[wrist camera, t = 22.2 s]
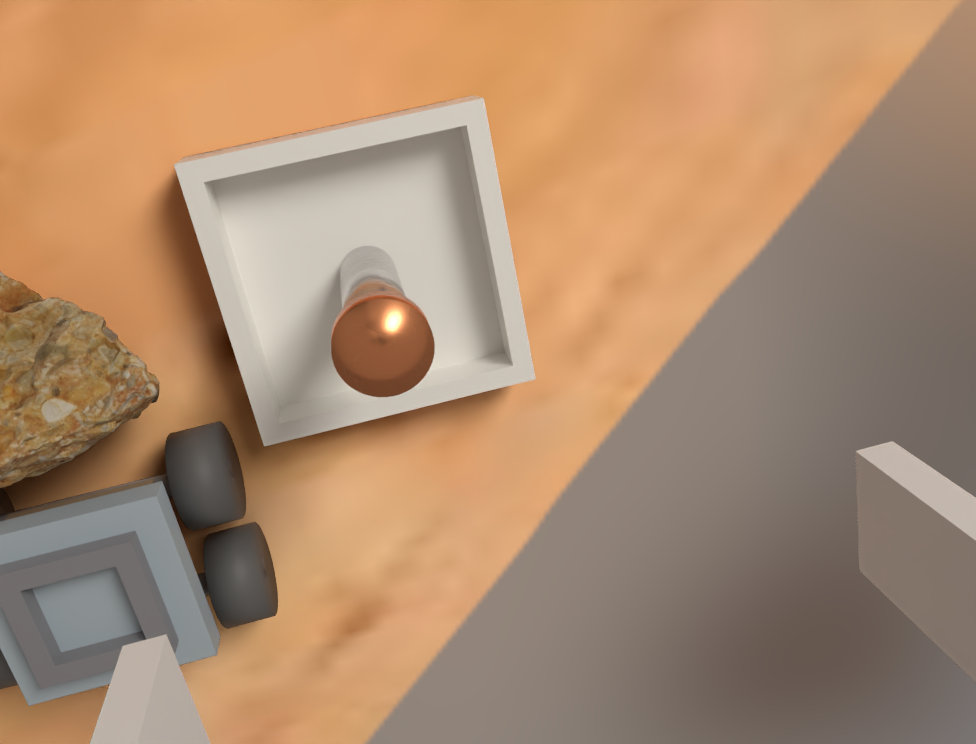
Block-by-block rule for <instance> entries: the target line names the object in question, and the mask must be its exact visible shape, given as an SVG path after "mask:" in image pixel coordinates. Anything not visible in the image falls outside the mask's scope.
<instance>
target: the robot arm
mask: <svg viewBox="0 0 976 744" xmlns="http://www.w3.org/2000/svg"><path fill="white" fill-rule="evenodd" d="M856 478H857V479H856V481H857V511H858V540H859V570H860V571H861V572H862V573H863V574H864V575H865V576H866V577H867V578H868V579H869V580H870V581H871V582H872V583H873V584H874V585H875V586H876V587H877V588H878V589H879V590H881V591H882V592H883V593H884V594H885V595H886V596H887V597H888V598H889V599H890V600H891V601H892V602H893V603H894V604H895V605H896V606H897V607H899V609H900V610H901V611H902V612H903V613H904V614H906V615H907V616H908V617H909V618H910V619H911V620H912V621H913V622H914V623H915V624H916V625H917V626H918V627H919V628H920V629H921V630H922V631H923V632H924V633H925V634H926V635H927V636H928V637H929V638H931V640H933V641H934V642H935V643H936V644H937V645H938V646H939V647H940V648H941V649H942V650H943V651H944V652H945V653H946V654H947V655H948V656H949V657H950V658H951V659H952V660H953V661H954V662H955V663H957V665H959V666H960V667H961V668H962V669H963V670H964V671H965V672H966V673H967V674H968V675H969V676H970V677H971V678H972V679H973V680H974V681H976V498H975V497H974V496H972V495H971V494H969V493H968V492H966V491H965V490H963V489H961V488H960V487H959V486H957V485H956V484H954V483H953V482H952V481H950V480H949V479H947V478H946V477H944V476H943V475H941V474H940V473H938V472H937V471H935V470H934V469H932V468H931V467H929V466H928V465H926V464H925V463H924V462H922V461H921V460H919V459H918V458H916V457H915V456H913V455H912V454H910V453H909V452H907V451H906V450H905V449H903V448H901V447H900V446H899V445H897V444H896V443H894V442H893V441H892V442H888V443H884V444H881V445H877V446H873V447H869V448H865V449H862V450H858V451H856ZM90 744H211V743H210V741H209V739H208V736H207V734H206V731H205V729H204V726H203V724H202V721H201V719H200V716H199V714H198V711H197V709H196V706H195V704H194V701H193V699H192V696H191V694H190V691H189V689H188V686H187V684H186V681H185V679H184V676H183V674H182V672H181V669H180V667H179V664H178V662H177V659H176V657H175V654H174V652H173V649H172V647H171V644H170V642H169V639H168V637H167V634H165V635H162V636H158V637H154V638H150V639H147V640H143V641H139V642H135V643H132V644H128V645H124V646H122V649H121V652H120V655H119V658H118V661H117V664H116V667H115V670H114V673H113V676H112V679H111V682H110V685H109V688H108V691H107V694H106V697H105V700H104V703H103V706H102V709H101V712H100V715H99V718H98V721H97V724H96V727H95V730H94V733H93V736H92V739H91V742H90Z"/></svg>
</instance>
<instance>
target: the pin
mask: <svg viewBox="0 0 976 744" xmlns="http://www.w3.org/2000/svg"><path fill="white" fill-rule="evenodd" d="M340 286H341V300H342V310H341V311H340V313H339V314H338V316H337V317H336V319H335V322H334V324H333V328H332V332H331V355H332V360H333V364H334V366H335V369H336V371H337V373H338V374H339V376H340V377H341V378H342V379H343V381H344V382H345V383H346V384H347V385H349V386H350V387H351V388H353V389H354V390H356V391H358V392H360V393H362V394H365V395H368V396H373V397H391V396H396V395H400V394H402V393H404V392H407V391H408V390H410V389H412V388H413V387H415V386H416V385H417V384H418V383H419V382H420V381H421V380H422V379H423V378H424V377H425V376H426V374H427V372H428V371H429V369H430V367H431V365H432V362H433V358H434V352H435V343H434V337H433V333H432V331H431V328H430V325H429V323H428V321H427V318H426V316H425V315H424V313H423V311H422V310H421V309H420V308H419V307H418V306H417V305H416V304H415V303H414V302H413V301H411V300H410V299H408V298H407V297H406V296H405V293H404V290H403V287H402V284H401V281H400V278H399V275H398V272H397V269H396V266H395V264H394V261H393V260H392V258H391V257H390V255H389V254H388V253H387V252H385V251H384V250H382V249H381V248H378V247H375V246H361V247H358V248H355V249H353V250H352V251H350V252H349V253H348V254H347V255H346V256H345V258H344V259H343V261H342V263H341V267H340Z"/></svg>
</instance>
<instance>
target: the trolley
mask: <svg viewBox="0 0 976 744" xmlns="http://www.w3.org/2000/svg"><path fill="white" fill-rule="evenodd" d="M165 462H166V470H167V473H166V474H162V475H158V476H154V477H150V478H146V479H142V480H138V481H134V482H130V483H126V484H122V485H118V486H114V487H110V488H106V489H102V490H98V491H94V492H90V493H86V494H82V495H78V496H74V497H70V498H66V499H62V500H58V501H54V502H50V503H46V504H42V505H38V506H34V507H30V508H26V509H22V510H18V511H15V509H14V507H13V505H12V503H11V501H10V499H9V497H8V495H7V494H6V492H5V491H4V490H3V488H0V689H3V688H7V687H11V686H14V685H19V687H20V689H21V691H22V693H23V695H24V697H25V699H26V701H27V703H28V705H29V706H30V705H34V704H38V703H41V702H45V701H49V700H52V699H56V698H60V697H64V696H67V695H71V694H75V693H78V692H82V691H86V690H89V689H93V688H97V687H101V686H104V685H108V684H110V682H111V679H112V676H113V673H114V670H115V667H116V664H117V661H118V658H119V655H120V652H121V649H122V646H124V645H128V644H132V643H135V642H139V641H143V640H147V639H150V638H154V637H158V636H162V635H165V634H167V637H168V639H169V642H170V644H171V647H172V649H173V652H174V654H175V657H176V659H177V662H178V664H179V665H182V664H186V663H189V662H193V661H197V660H200V659H204V658H208V657H211V656H215V655H217V652H218V646H219V640H220V634H219V631H218V629H217V626H216V623H215V621H214V618H213V615H212V613H211V610H210V607H209V605H208V602H207V599H206V597H205V596H208V595H210V598H211V602H212V605H213V608H214V610H215V613H216V615H217V617H218V619H219V621H220V622H221V624H222V625H223V626H224V627H225V628H231V627H235V626H239V625H242V624H246V623H250V622H253V621H257V620H261V619H265V618H268V617H272V616H275V615H276V613H277V608H278V594H277V584H276V577H275V572H274V567H273V562H272V558H271V554H270V551H269V548H268V544H267V542H266V539H265V536H264V534H263V532H262V530H261V528H260V526H259V525H258V524H257V523H256V522H253V523H249V524H245V525H241V526H237V527H234V528H230V529H226V530H222V531H218V532H214V533H210V534H208V535H207V536H206V538H205V542H204V569H205V572H204V573H200V574H197V573H196V570H195V567H194V565H193V562H192V559H191V557H190V554H189V551H188V549H187V546H186V543H185V541H184V538H183V535H182V533H181V530H180V527H179V525H178V522H177V519H176V517H175V514H174V511H173V509H172V506H171V503H170V501H169V498H170V497H173V500H174V503H175V506H176V508H177V511H178V513H179V515H180V517H181V519H182V521H183V522H184V524H185V525H186V527H187V528H188V529H190V530H191V531H195V530H198V529H202V528H206V527H210V526H214V525H218V524H222V523H226V522H230V521H234V520H238V519H241V518H243V517H244V515H245V511H246V495H245V487H244V480H243V475H242V470H241V466H240V462H239V458H238V455H237V452H236V449H235V446H234V443H233V441H232V438H231V436H230V434H229V432H228V430H227V428H226V427H225V425H224V424H223V423H222V422H215V423H211V424H207V425H203V426H199V427H195V428H191V429H186V430H182V431H178V432H174V433H171V434H169V435H168V437H167V440H166V445H165Z"/></svg>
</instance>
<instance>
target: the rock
mask: <svg viewBox="0 0 976 744" xmlns="http://www.w3.org/2000/svg"><path fill="white" fill-rule="evenodd" d="M158 396H159V381H158V379H157V378H156V376H155V375H153V374H151V373H149V372H148V371H147V368H146V364H145V363H144V362H143V361H142V360H141V359H140V358H139V357H138V356H136V355H134V354H133V353H131V352H130V351H129V350H128V349H127V348H126V347H125V346H124V345H123V344H122V342H121V341H120V340H118V335H116V334H115V333H113V332H112V331H111V330H110V329H109V328H108V327H106V322H105V320H104V318H103V317H101V316H99V315H96V314H94V313H92V312H87V311H83V310H82V309H80V308H79V307H78V306H76V305H75V304H73V303H72V302H68V301H64V300H61V299H60V298H47V299H45V300H43V299H42V298H41V296H40V295H39V294H38V293H36V292H34V291H32V290H31V289H29V288H28V287H27V286H26V285H24V284H23V283H21V282H19V281H16V280H13V279H11V278H9V277H7V276H5V275H4V274H3V273H2V272H1V271H0V488H2V487H6V486H10V485H12V484H13V483H16V482H18V481H21V480H22V479H23V478H24V477H31V476H39V475H42V474H44V473H46V472H48V471H49V470H51V469H53V468H55V467H56V466H58V465H60V464H63V463H66V462H68V461H71V460H72V459H74V458H75V457H76V456H77V455H79V454H81V453H83V452H85V451H86V450H88V449H89V448H90V447H92V446H93V445H94V444H95V443H96V442H97V441H99V440H101V439H103V438H105V437H106V436H107V435H109V434H110V433H111V432H114V430H115V429H116V428H117V427H118V426H119V425H121V424H123V423H124V422H126V421H128V420H130V419H134V418H138V417H139V415H140V413H141V412H142V411H143V410H144V409H145V408H147V407H148V406H149V405H150V403H153V402H156V401H157V399H158Z"/></svg>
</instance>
